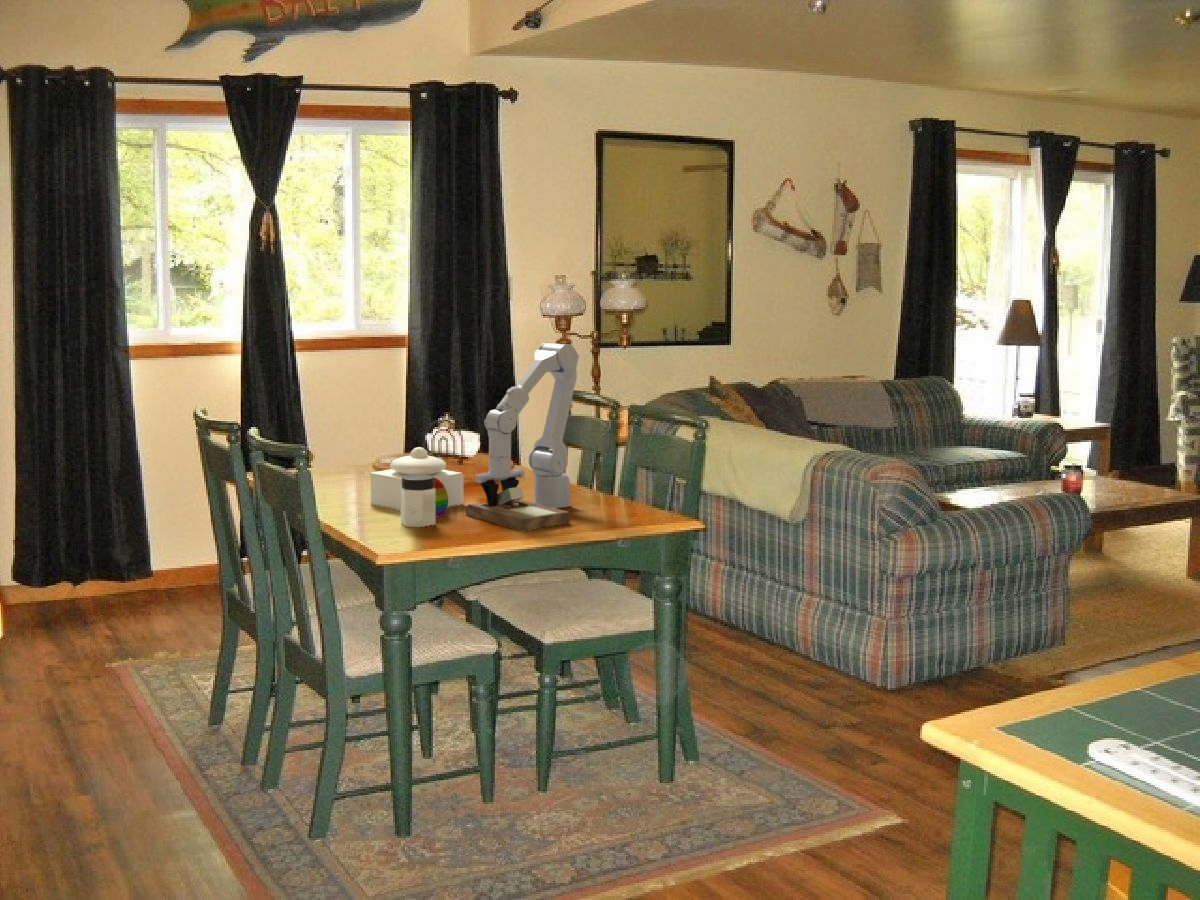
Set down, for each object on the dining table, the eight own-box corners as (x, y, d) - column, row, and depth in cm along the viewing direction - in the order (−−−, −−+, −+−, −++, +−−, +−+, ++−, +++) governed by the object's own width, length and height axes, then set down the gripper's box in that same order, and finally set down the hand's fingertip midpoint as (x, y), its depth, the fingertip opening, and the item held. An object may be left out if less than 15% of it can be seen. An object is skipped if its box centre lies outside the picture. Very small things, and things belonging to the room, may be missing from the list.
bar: (500, 509, 350) (497, 498, 351) (524, 497, 342) (521, 486, 342) (488, 511, 347) (485, 500, 348) (511, 499, 339) (508, 488, 340)
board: (511, 508, 356) (511, 494, 355) (569, 523, 338) (569, 508, 337) (465, 515, 346) (465, 500, 345) (522, 531, 328) (522, 516, 327)
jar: (395, 526, 330) (395, 479, 329) (405, 519, 338) (405, 473, 337) (430, 528, 329) (430, 480, 327) (439, 521, 337) (439, 475, 335)
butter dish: (415, 514, 346) (415, 454, 343) (369, 505, 357) (369, 446, 355) (463, 505, 359) (463, 447, 357) (417, 496, 371) (417, 439, 368)
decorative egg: (413, 512, 347) (413, 475, 346) (444, 511, 350) (444, 473, 348) (419, 519, 340) (419, 480, 338) (451, 517, 342) (451, 479, 341)
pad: (531, 507, 342) (531, 506, 342) (557, 513, 335) (557, 512, 335) (509, 510, 338) (509, 509, 338) (535, 517, 330) (535, 516, 330)
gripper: (512, 451, 352) (512, 501, 355) (468, 456, 343) (467, 508, 345) (529, 454, 347) (528, 505, 349) (484, 460, 338) (483, 512, 340)
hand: (499, 507), depth 347 cm, fingers closed on bar, 4 cm apart
